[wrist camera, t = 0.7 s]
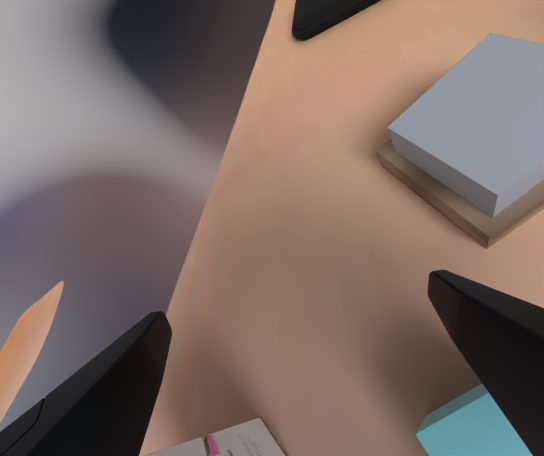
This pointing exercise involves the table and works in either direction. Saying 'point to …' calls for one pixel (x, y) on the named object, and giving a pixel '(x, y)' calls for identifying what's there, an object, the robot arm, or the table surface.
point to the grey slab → (481, 124)
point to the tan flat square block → (463, 201)
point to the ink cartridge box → (229, 443)
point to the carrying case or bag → (323, 15)
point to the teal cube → (470, 428)
